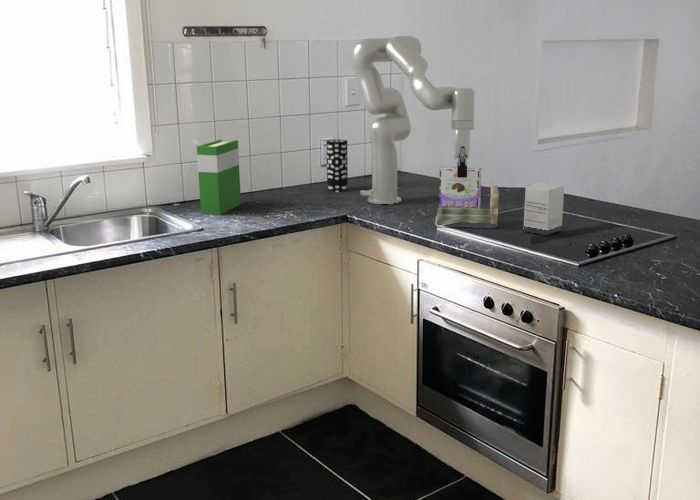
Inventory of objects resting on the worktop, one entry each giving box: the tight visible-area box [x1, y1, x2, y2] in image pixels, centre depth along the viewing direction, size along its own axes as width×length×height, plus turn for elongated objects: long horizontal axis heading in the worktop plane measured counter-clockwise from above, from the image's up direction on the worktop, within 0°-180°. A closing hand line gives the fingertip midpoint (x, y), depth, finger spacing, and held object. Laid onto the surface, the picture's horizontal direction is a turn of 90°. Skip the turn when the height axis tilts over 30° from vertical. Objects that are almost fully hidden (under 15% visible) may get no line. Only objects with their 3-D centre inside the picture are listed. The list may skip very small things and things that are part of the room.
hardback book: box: [196, 139, 242, 216], centre depth 272 cm, size 18×7×24 cm, turn 163°
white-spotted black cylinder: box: [326, 139, 349, 193], centre depth 304 cm, size 8×8×20 cm
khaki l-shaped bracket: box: [434, 185, 500, 226], centre depth 249 cm, size 20×12×12 cm, turn 82°
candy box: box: [438, 166, 482, 209], centre depth 262 cm, size 14×6×16 cm, turn 71°
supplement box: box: [523, 182, 565, 231], centre depth 238 cm, size 9×9×15 cm
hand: (462, 175), depth 260 cm, fingers open, 9 cm apart
